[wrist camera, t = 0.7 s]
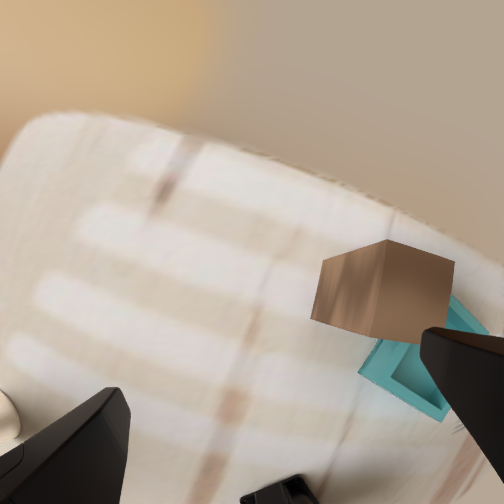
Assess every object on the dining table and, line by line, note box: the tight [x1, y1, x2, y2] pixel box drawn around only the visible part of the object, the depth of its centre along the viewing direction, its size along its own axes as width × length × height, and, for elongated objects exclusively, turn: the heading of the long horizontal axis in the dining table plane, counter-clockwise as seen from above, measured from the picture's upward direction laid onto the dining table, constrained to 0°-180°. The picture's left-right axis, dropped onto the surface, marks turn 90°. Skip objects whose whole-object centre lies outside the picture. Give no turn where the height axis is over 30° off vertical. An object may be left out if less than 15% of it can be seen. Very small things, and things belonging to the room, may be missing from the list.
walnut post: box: [310, 239, 455, 345], centre depth 20 cm, size 5×5×11 cm
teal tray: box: [358, 294, 489, 422], centre depth 23 cm, size 10×10×4 cm
